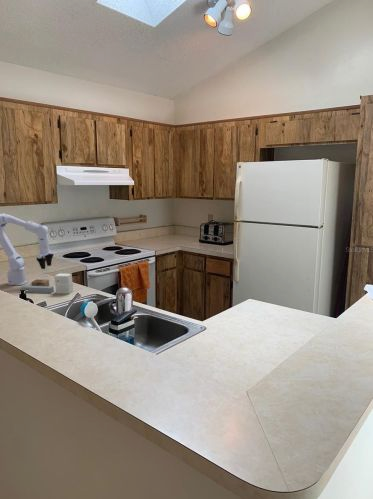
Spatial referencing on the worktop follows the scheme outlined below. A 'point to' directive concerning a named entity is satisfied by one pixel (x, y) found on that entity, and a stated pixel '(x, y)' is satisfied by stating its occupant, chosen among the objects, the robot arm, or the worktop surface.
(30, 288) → the board
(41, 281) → the walnut block
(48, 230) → the robot arm
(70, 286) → the small box
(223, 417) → the worktop surface
